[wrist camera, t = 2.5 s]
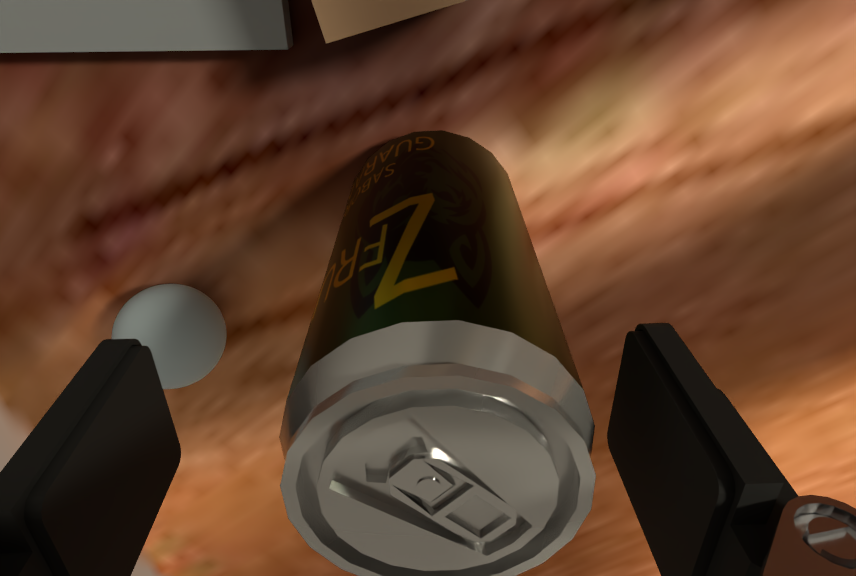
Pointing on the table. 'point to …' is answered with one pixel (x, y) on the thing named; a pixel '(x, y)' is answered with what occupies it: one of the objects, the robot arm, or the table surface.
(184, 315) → the grey ball
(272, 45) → the coaster
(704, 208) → the table surface
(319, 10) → the tan cube
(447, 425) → the beer can
